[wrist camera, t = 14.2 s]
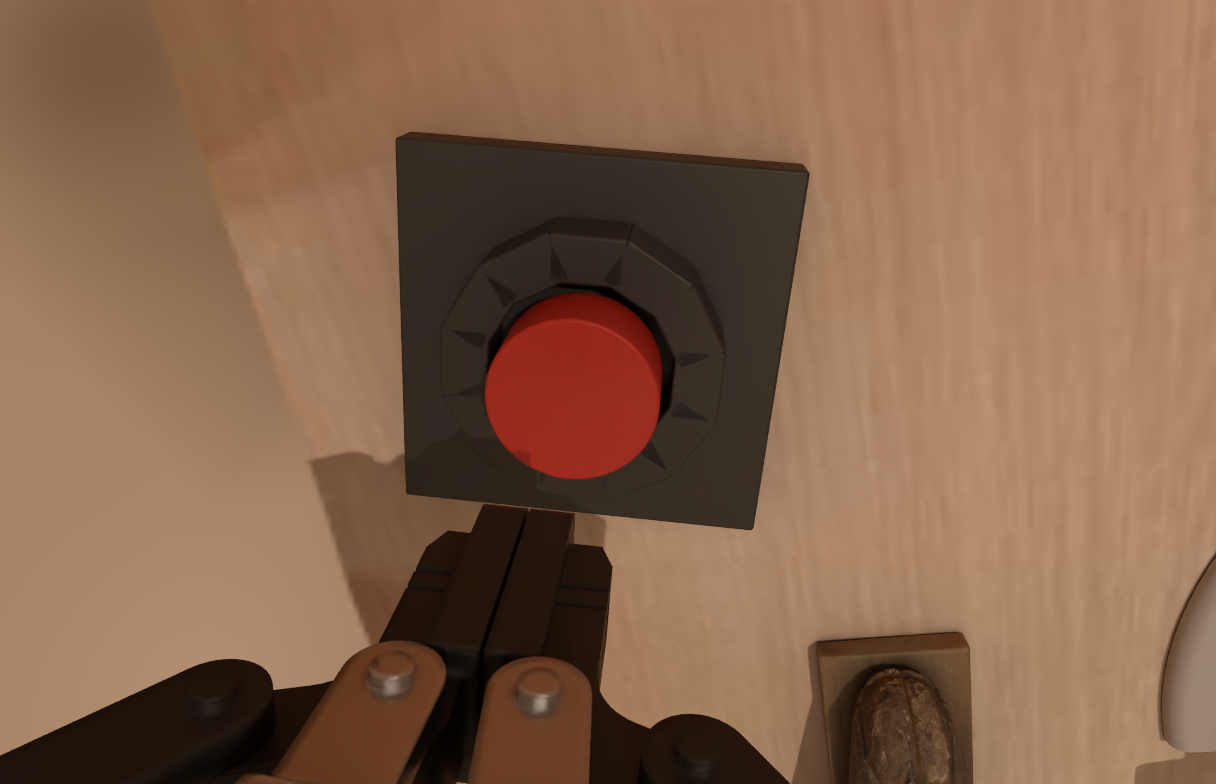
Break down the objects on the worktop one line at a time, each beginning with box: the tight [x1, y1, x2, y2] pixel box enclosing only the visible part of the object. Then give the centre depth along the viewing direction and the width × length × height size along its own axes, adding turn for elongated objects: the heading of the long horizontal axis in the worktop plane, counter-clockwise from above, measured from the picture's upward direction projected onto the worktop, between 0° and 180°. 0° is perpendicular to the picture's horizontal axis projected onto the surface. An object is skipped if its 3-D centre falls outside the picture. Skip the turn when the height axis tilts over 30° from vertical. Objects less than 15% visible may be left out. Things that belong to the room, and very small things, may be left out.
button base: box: [396, 132, 810, 530], centre depth 23 cm, size 10×10×3 cm
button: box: [485, 292, 662, 479], centre depth 21 cm, size 4×4×2 cm
